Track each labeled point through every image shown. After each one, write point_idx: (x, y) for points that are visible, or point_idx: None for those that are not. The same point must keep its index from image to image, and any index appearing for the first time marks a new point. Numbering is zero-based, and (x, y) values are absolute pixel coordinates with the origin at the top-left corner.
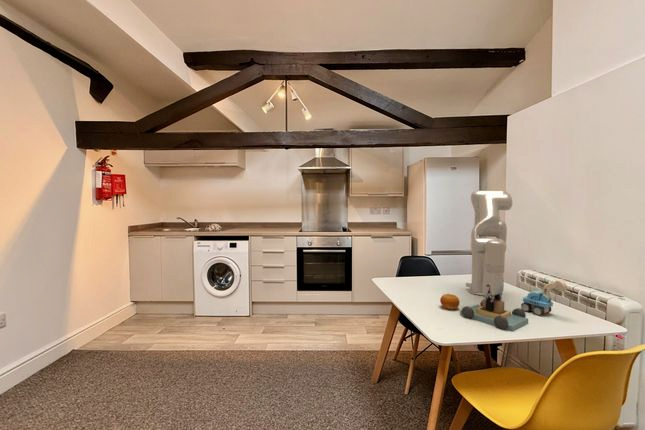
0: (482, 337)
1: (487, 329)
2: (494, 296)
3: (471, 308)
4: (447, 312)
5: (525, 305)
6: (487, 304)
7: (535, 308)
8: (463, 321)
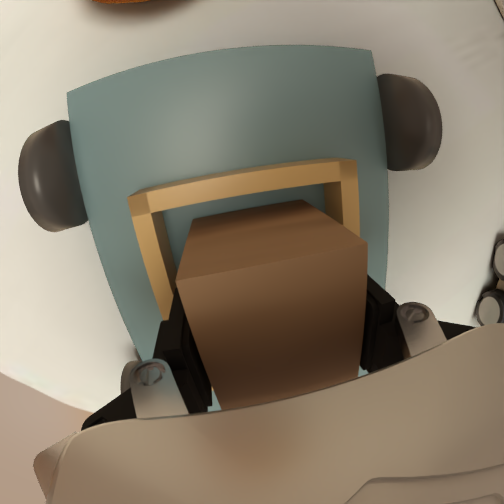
0: (18, 373)
1: (74, 349)
2: (399, 330)
3: (51, 212)
4: (53, 38)
5: None
6: (157, 351)
7: (498, 309)
8: (19, 215)
